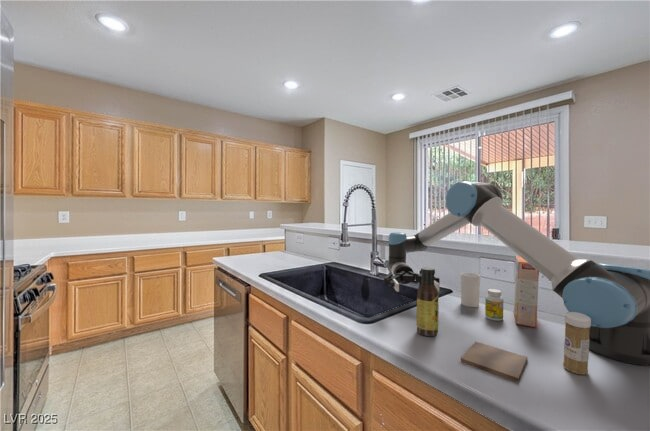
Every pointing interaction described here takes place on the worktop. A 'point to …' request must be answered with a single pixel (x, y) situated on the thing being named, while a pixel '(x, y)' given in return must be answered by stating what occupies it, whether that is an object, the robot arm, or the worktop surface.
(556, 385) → the worktop surface
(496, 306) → the supplement bottle
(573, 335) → the sprinkles bottle
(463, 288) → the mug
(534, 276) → the cracker box
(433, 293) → the sauce bottle
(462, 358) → the coaster board
